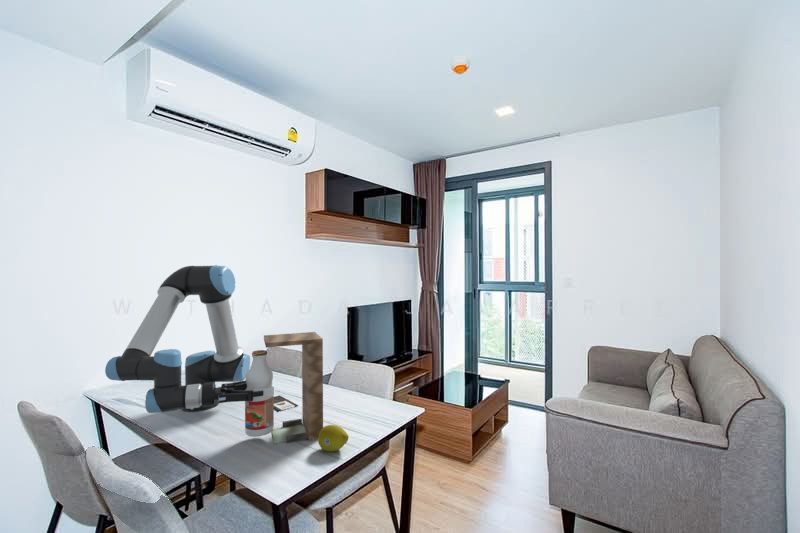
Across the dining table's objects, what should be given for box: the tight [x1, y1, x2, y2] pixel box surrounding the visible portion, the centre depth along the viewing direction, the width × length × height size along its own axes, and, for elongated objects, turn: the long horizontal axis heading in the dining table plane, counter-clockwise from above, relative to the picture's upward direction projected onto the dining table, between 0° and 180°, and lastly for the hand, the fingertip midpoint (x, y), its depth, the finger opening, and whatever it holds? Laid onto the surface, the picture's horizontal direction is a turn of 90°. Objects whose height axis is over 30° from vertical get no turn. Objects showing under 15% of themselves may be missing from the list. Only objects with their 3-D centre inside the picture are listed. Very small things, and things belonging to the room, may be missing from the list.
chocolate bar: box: [274, 394, 299, 413], centre depth 166 cm, size 9×1×18 cm
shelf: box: [263, 331, 324, 444], centre depth 136 cm, size 19×16×35 cm
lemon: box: [317, 424, 349, 453], centre depth 123 cm, size 11×8×8 cm
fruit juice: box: [244, 349, 275, 438], centre depth 131 cm, size 9×9×28 cm
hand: (272, 386), depth 133 cm, fingers closed on fruit juice, 9 cm apart
